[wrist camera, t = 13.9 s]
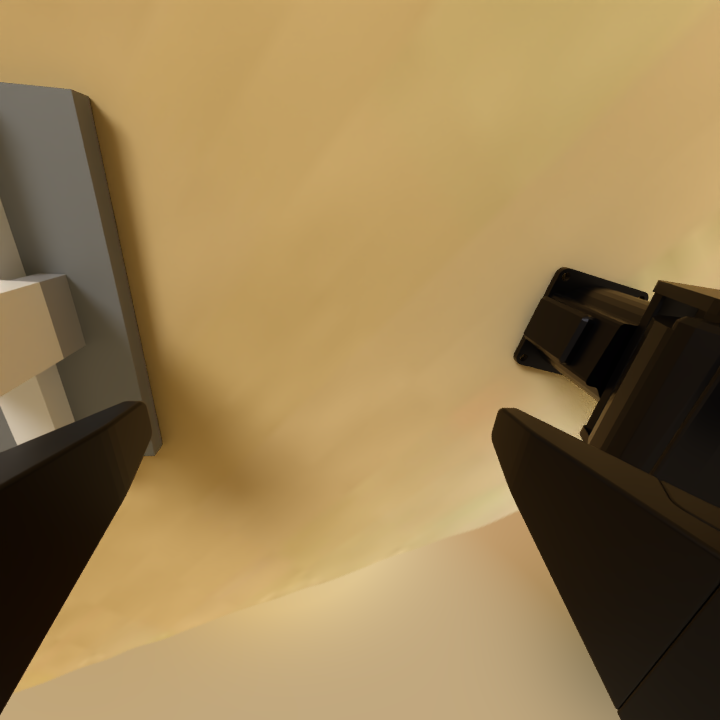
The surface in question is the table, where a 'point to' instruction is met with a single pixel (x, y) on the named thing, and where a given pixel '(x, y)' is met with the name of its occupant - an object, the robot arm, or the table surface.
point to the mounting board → (66, 261)
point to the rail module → (35, 327)
